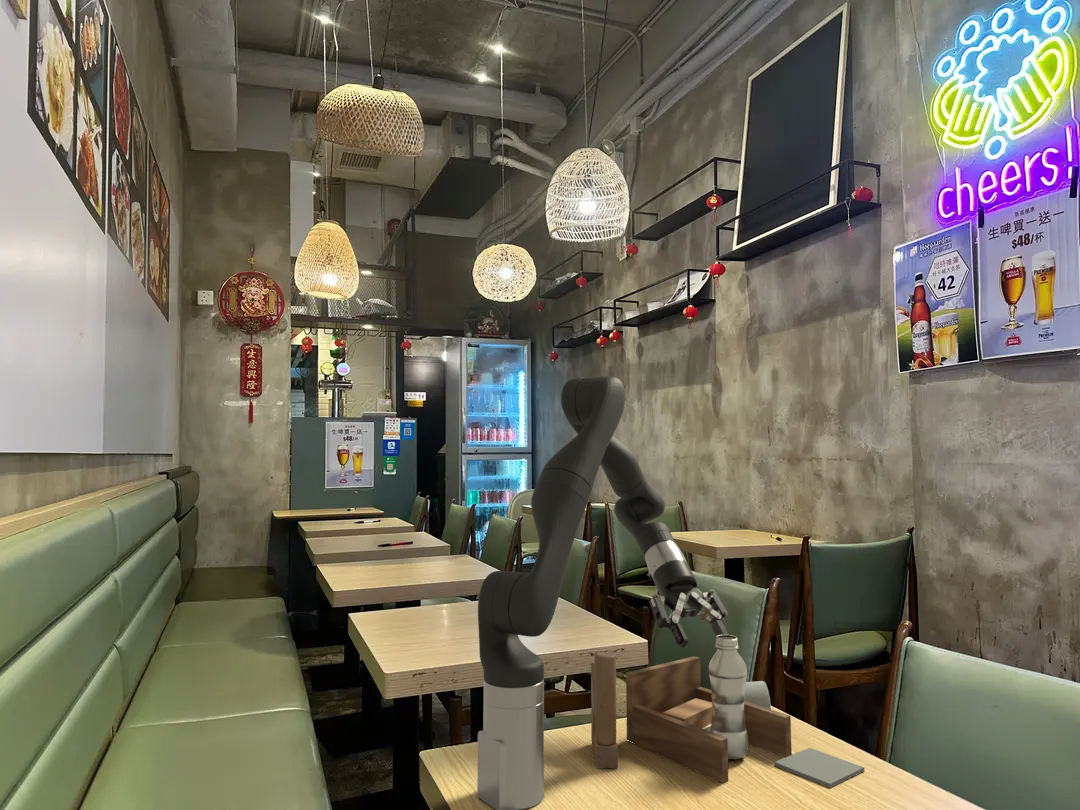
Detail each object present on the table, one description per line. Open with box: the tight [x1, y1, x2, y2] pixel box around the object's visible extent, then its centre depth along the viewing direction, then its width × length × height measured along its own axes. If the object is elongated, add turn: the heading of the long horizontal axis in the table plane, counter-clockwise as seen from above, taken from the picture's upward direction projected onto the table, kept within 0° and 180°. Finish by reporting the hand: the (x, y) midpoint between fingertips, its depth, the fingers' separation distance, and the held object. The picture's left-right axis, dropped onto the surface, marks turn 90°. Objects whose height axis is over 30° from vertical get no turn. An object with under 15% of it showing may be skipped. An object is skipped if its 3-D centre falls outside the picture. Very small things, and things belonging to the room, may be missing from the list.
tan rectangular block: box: [662, 698, 712, 732], centre depth 129 cm, size 12×5×6 cm, turn 131°
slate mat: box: [774, 747, 865, 789], centre depth 117 cm, size 10×10×1 cm
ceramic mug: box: [744, 680, 772, 710], centre depth 137 cm, size 11×8×8 cm
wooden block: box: [590, 651, 619, 769], centre depth 123 cm, size 4×11×18 cm, turn 0°
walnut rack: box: [625, 656, 793, 784], centre depth 126 cm, size 18×22×12 cm
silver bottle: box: [708, 634, 750, 760], centre depth 123 cm, size 6×7×20 cm
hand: (704, 642), depth 129 cm, fingers open, 8 cm apart
